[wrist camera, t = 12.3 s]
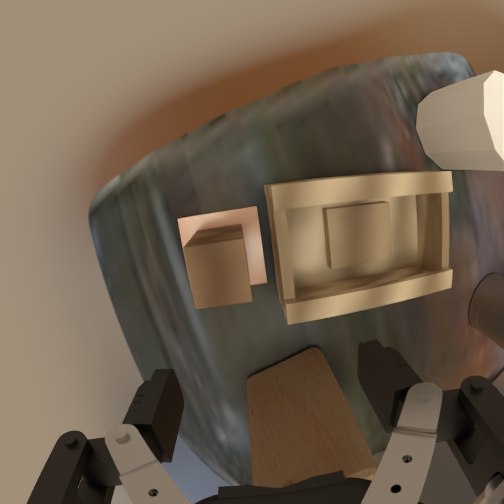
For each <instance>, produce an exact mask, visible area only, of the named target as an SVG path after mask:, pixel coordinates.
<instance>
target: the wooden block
mask: <svg viewBox="0 0 504 504" xmlns="http://www.w3.org/2000/svg"><path fill="white" fill-rule="evenodd" d="M246 384H247V401H248V418H249V434H250V450H251V465H252V480H253V486H261V487H273V488H283V487H286V486H289V485H292V484H295V483H298V482H300V481H303V480H305V479H308V478H311V477H313V476H319V475H323V474H328V473H333V472H337V471H341V470H343V473H344V476H345V477H353V478H363V479H367V480H371V481H372V480H373V478H374V476H375V474H376V472H377V469H378V466H377V464H376V462H375V460H374V457H373V455H372V453H371V451H370V449H369V447H368V444H367V442H366V440H365V438H364V436H363V434H362V431H361V429H360V427H359V425H358V423H357V421H356V419H355V417H354V414H353V412H352V410H351V408H350V406H349V404H348V402H347V400H346V398H345V395H344V393H343V391H342V389H341V387H340V386H339V384H338V382H337V380H336V378H335V376H334V374H333V372H332V370H331V368H330V366H329V364H328V362H327V360H326V359H325V357H324V355H323V353H322V351H321V350H319V349H318V348H317V347H311V348H309V349H307V350H305V351H303V352H301V353H299V354H297V355H295V356H293V357H291V358H289V359H287V360H285V361H282V362H280V363H278V364H276V365H274V366H272V367H270V368H268V369H265V370H263V371H261V372H259V373H257V374H254V375H252V376H251V377H249V378H248V379H247V381H246Z"/></svg>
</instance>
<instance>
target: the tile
mask: <svg viewBox="0 0 504 504" xmlns="http://www.w3.org/2000/svg"><path fill="white" fill-rule="evenodd" d="M178 224H179V230H180V235H181V241H182V246H183V247H184V246H185V245H186V244H187V242H188V241H189V240H190V239H191V237H192V236H193V235H194V234H195V232H196V231H197V230H203V229H209V228H216V227H222V226H229V225H236V224H242V230H243V237H244V244H245V251H246V258H247V264H248V271H249V279H250V285H255V284H262V283H267V278H266V270H265V263H264V255H263V248H262V241H261V234H260V227H259V219H258V212H257V206H253V207H246V208H239V209H232V210H226V211H219V212H213V213H207V214H201V215H195V216H189V217H183V218H178ZM183 251H184V249H183ZM184 256H185V254H184ZM185 261H186V259H185ZM186 266H187V264H186ZM187 271H188V270H187ZM188 276H189V274H188ZM189 281H190V279H189ZM190 285H191V284H190ZM191 290H192V289H191Z"/></svg>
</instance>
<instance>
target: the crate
mask: <svg viewBox="0 0 504 504" xmlns="http://www.w3.org/2000/svg"><path fill="white" fill-rule="evenodd" d="M263 186H264V193H265V200H266V207H267V215H268V222H269V230H270V237H271V245H272V253H273V260H274V268H275V276H276V284H277V292H278V298H279V301H280V304H281V306H282V309H283V312H284V315H285V318H286V321H287V324H288V325H290V324H296V323H301V322H307V321H312V320H318V319H323V318H328V317H333V316H338V315H343V314H348V313H352V312H357V311H361V310H366V309H370V308H375V307H379V306H383V305H388V304H392V303H396V302H400V301H404V300H408V299H412V298H415V297H419V296H423V295H427V294H430V293H434V292H437V291H441V290H444V289H448V288H451V284H452V271H453V270H452V269H450V268H448V263H449V198H448V192H453V186H452V173H451V171H406V172H389V173H374V174H361V175H349V176H338V177H327V178H318V179H308V180H300V181H291V182H283V183H275V184H267V185H263Z"/></svg>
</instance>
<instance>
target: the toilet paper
mask: <svg viewBox="0 0 504 504" xmlns="http://www.w3.org/2000/svg"><path fill="white" fill-rule="evenodd" d="M416 131H417V133H418V136H419V138H420V141H421V144H422V146H423V149H424V152H425V154H426V155H427V156H428V157H429V158H430V159H432V160H433V161H434V162H435V163H436V164H437V165H438V166H439V167H440V168H441V169H454V170H489V171H504V74H503V73H500V72H498V71H491V72H488V73H484V74H482V75H478V76H475V77H472V78H469V79H466V80H463V81H461V82H458V83H455V84H452V85H449V86H446V87H444V88H441V89H438V90H436V91H433V92H431V93H430V94H429V95H427V96H426V97H425V98H424V99H423V100H422V101H421V102H420V103H419V104H418V110H417V120H416Z"/></svg>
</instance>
